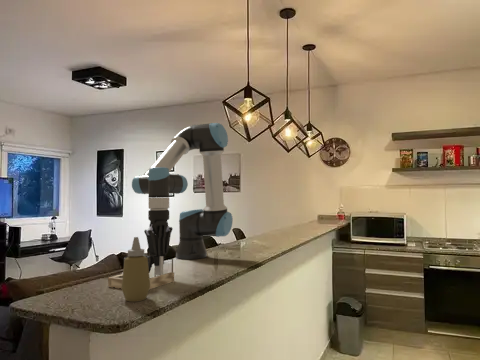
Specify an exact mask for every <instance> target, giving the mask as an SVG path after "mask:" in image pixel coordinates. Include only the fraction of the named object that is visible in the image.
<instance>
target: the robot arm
mask: <svg viewBox="0 0 480 360" xmlns="http://www.w3.org/2000/svg"><path fill="white" fill-rule="evenodd" d="M228 142H229V136H228V133H227V130H226V128H225V126H224V125H223V124H222V123H220V122H219V123H218V122H210V123H201V124H192V125H189V126H186V127H185V128H183V129H181V130H180V131H179V132H178V133H177V134H175V135H174V137H172V139H171V141H170V145H169V146H167V148H166V149H165V150H164V151H163V152H162V153H161V155H160V156H159V157H158V158H157V159H156V160H155V161H154V162H153V163H152V165H151V166H150V167H149V168H148V169H147V170H146V171H145V173H143V174H140V175H136V176H134V177H133V179H132V181H131V188H132V190H133V192H134V193H136V194H141V195H148V209H149V210H148V214H147V215H148V221H149V226H148V229H144V234H145V236H146V241H147V246H148V253H149V256H152V257H153V266H154V275H156V276H160V275H163V274H164V264H165V257H166V256H167V255H168V253H169V250H170V249H169V248H170V240H171V234H172V231H173V227H172V226H169V223H168V220H170V210H169V209H170V194H175V195H177V194H183V193H184V192H185V191H186V190H187V189H188V184H189V183H188V179H187V177H186V176H184V175H182V174H178V173H177V174H176V173H175V174H174V173H170V172H171V171H172V169H173V168H174V167H175V166H176V165H177V163H178V162H179V161H180V159H181V158H183V156H184V155H186V154H188V153H189V152H190V151H193V150H199V154H201V155H202V158H203V159H202V160H203V161H202V162H203V177H204V194H205V206H204V208H199V209H191V210H185V211H181V212H180V213H179V220H178V222H179V223H178V224H179V241H178V246H177V248H176V251H175V258H176V259H180V260H198V259H204V258H206V257H208V255H207V254H208V252H207V249H206V245H205V243H204V237H218V238H220V237H226V236H228V235H229V233H230V232H231V230H232V227H233V214H232V213H231V212H229V211H228V206H226V205H225V202H224V201H225V200H224V199H225V198H224V183H223V170H222V169H223V167H222V154H223V153H224V152H225V149H224V148H226V147H227V146H228Z"/></svg>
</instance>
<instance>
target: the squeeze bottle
mask: <svg viewBox="0 0 480 360" xmlns="http://www.w3.org/2000/svg"><path fill="white" fill-rule="evenodd" d="M139 239H140V238H139V236H135V237H133V241H132V246H131V249H128V250H127V256H126V257H127V258H126V259H125V260H124V259H123V270H122V274H123V278H122V289H121V291H122V294H123V296H124V299H125V301H127V302H133V303H135V302H141V301H144V300H146V299H147V296H148V294H149V291H150V289H149V288H150V273H149V268H148V258H147V257H145V256H146V255H145V249H144V248H141V244H140V240H139ZM128 256H129V257H128Z"/></svg>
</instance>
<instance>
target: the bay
mask: <svg viewBox="0 0 480 360" xmlns="http://www.w3.org/2000/svg"><path fill="white" fill-rule="evenodd" d="M122 278H123V273H121V274H117V275H113V276H110V277H108V278H107V287H108V286H109V287H108V288H113V287H115V288H114V289H119V288H121V290H122ZM149 278H150V277H149ZM174 282H175V272H173V271H172V272H171V271H170V272H167V273H163V275H156V276H154V277H151V278H150V288H149V290H153V289H155V288H157V287H162V286H165V285H167V284H170V283H174Z"/></svg>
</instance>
